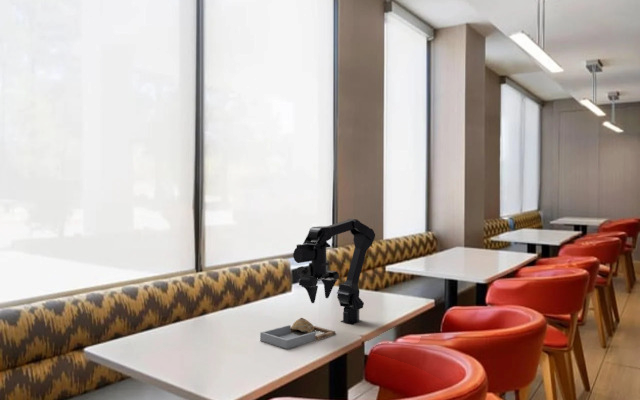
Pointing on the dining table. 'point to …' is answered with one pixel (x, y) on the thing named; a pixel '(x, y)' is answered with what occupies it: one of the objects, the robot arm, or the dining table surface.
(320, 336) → the cradle
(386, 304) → the dining table surface
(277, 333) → the tray
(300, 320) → the seashell
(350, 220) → the robot arm
